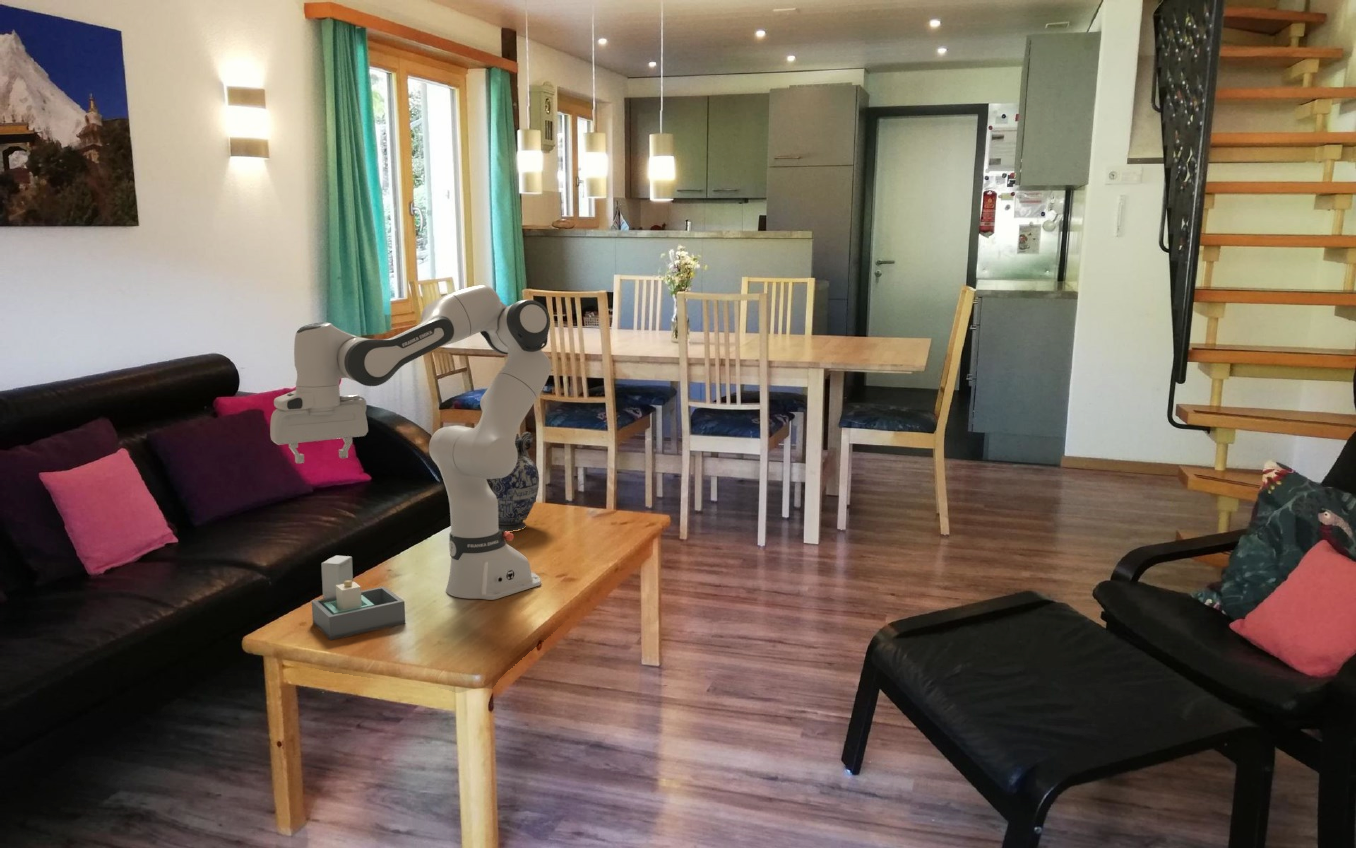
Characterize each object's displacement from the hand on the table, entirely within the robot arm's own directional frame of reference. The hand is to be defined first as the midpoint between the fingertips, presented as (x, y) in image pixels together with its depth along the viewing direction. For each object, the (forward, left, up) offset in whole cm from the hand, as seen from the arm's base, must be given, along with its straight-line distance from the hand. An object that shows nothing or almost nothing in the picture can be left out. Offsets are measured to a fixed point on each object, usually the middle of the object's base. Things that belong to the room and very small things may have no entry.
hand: (322, 460), depth 210 cm
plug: (0, +13, -33) cm, 36 cm away
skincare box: (-1, +3, -34) cm, 34 cm away
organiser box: (-2, +13, -34) cm, 37 cm away
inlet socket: (0, +13, -34) cm, 36 cm away
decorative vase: (-63, -36, -34) cm, 80 cm away
